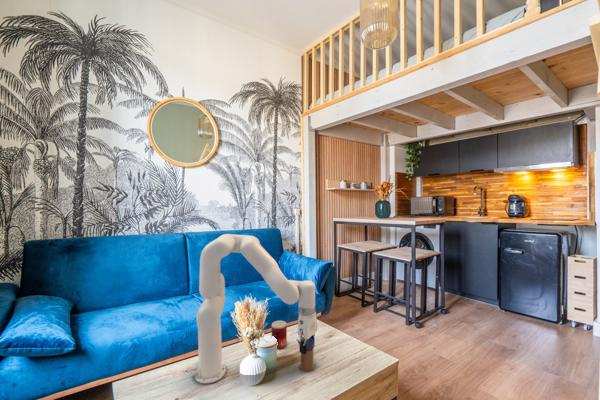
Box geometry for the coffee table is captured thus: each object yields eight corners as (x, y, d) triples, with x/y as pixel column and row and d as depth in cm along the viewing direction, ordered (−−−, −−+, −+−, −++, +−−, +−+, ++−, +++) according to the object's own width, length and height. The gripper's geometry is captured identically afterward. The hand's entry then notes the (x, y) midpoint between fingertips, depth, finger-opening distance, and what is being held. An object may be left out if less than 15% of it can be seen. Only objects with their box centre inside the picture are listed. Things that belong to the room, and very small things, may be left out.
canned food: (287, 341, 146) (287, 320, 146) (285, 349, 138) (285, 327, 138) (273, 340, 146) (273, 320, 146) (270, 349, 139) (270, 327, 138)
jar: (303, 372, 120) (303, 347, 120) (299, 364, 125) (298, 340, 125) (315, 369, 122) (315, 344, 122) (310, 362, 127) (310, 338, 127)
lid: (298, 342, 126) (298, 337, 126) (312, 341, 127) (312, 336, 127) (301, 350, 120) (301, 345, 120) (315, 349, 121) (315, 344, 121)
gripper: (304, 318, 114) (304, 361, 114) (323, 304, 129) (323, 342, 129) (289, 314, 118) (289, 356, 118) (309, 301, 133) (309, 338, 133)
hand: (307, 348), depth 124 cm, fingers closed on lid, 6 cm apart
